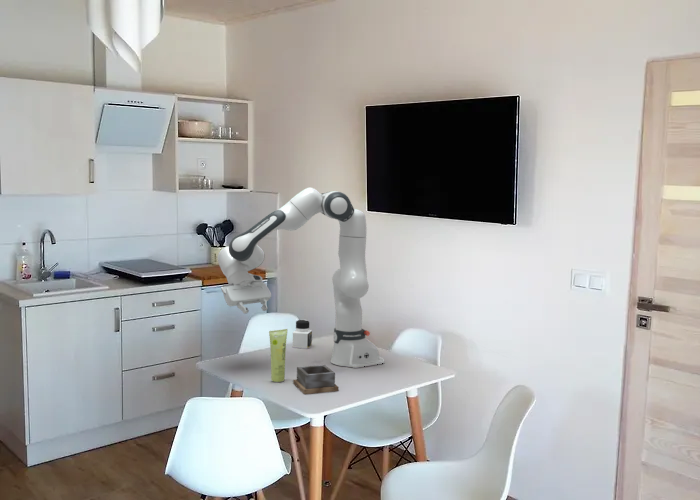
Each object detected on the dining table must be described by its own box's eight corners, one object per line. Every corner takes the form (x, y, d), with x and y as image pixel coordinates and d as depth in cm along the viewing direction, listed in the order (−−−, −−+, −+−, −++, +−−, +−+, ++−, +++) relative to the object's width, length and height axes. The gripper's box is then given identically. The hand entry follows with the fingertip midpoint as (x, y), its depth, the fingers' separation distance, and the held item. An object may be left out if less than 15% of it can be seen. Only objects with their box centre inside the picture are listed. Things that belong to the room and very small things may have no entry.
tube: (280, 383, 253) (281, 331, 251) (268, 381, 254) (269, 330, 252) (286, 379, 258) (287, 328, 256) (274, 377, 260) (275, 327, 257)
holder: (325, 380, 258) (326, 363, 257) (338, 390, 246) (338, 373, 245) (293, 383, 253) (293, 366, 252) (304, 394, 241) (304, 376, 240)
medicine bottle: (307, 349, 304) (308, 322, 303) (292, 347, 305) (292, 321, 304) (311, 345, 311) (312, 319, 309) (296, 344, 312) (297, 318, 311)
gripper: (223, 280, 260) (238, 309, 254) (264, 276, 275) (279, 303, 269) (215, 290, 263) (230, 319, 258) (257, 285, 278) (272, 313, 272)
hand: (256, 311), depth 263 cm, fingers open, 8 cm apart
